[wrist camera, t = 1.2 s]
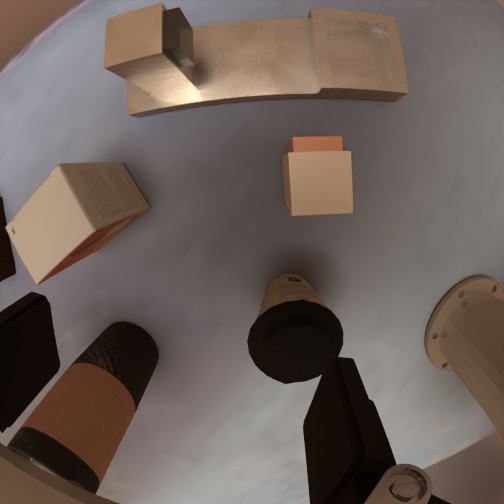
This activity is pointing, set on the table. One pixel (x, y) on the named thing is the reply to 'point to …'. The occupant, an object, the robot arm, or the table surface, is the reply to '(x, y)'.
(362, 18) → the rail
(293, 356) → the coffee cup
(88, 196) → the small box
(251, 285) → the table surface
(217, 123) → the table surface
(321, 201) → the beige orange block
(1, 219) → the manual coffee grinder
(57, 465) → the travel mug
